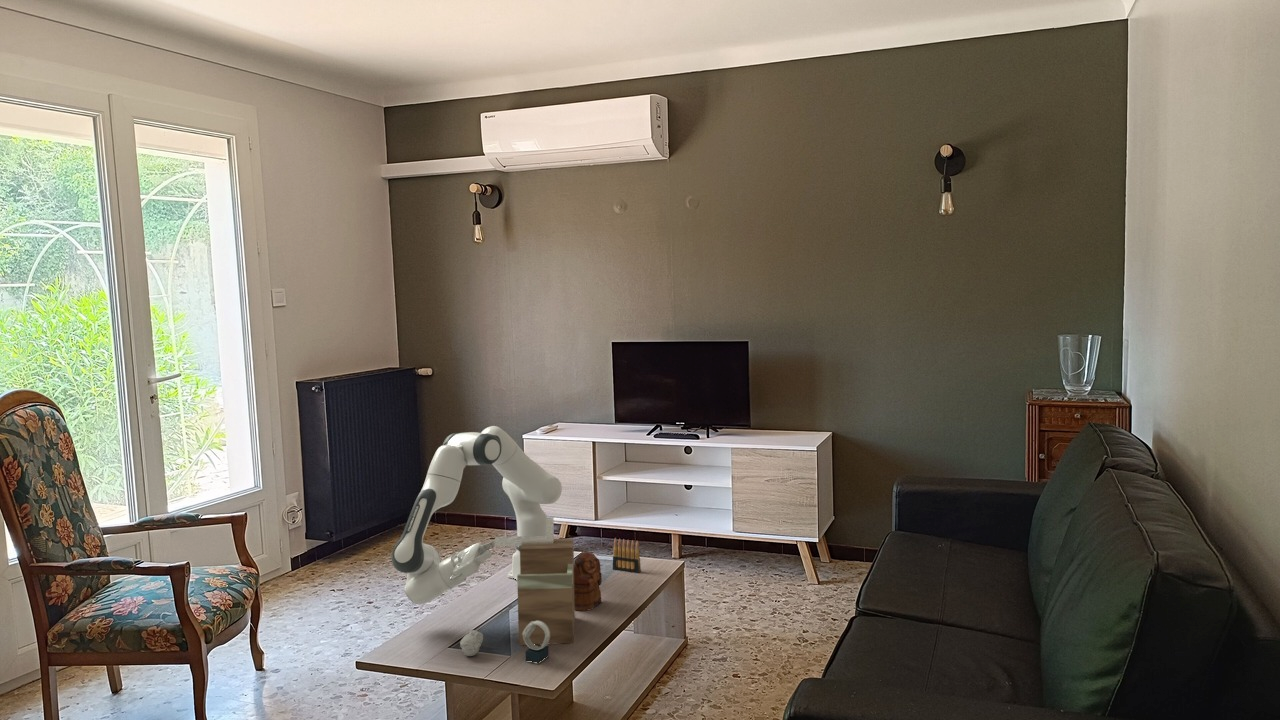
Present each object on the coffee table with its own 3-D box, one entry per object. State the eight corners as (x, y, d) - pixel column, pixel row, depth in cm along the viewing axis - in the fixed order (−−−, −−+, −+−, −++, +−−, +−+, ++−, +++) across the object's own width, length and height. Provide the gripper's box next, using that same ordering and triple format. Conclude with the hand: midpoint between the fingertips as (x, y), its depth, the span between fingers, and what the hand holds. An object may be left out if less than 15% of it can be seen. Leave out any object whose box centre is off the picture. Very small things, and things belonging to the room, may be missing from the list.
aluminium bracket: (495, 543, 274) (495, 518, 273) (553, 542, 275) (553, 516, 274) (494, 546, 271) (494, 520, 271) (553, 544, 272) (552, 519, 271)
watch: (530, 652, 255) (529, 616, 254) (554, 657, 252) (553, 620, 251) (519, 660, 250) (518, 623, 249) (543, 665, 247) (543, 627, 246)
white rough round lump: (487, 654, 254) (487, 631, 254) (467, 662, 250) (466, 638, 249) (476, 648, 259) (475, 625, 258) (455, 655, 254) (454, 632, 253)
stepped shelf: (524, 619, 281) (522, 539, 278) (574, 617, 281) (573, 538, 279) (518, 645, 261) (516, 559, 258) (573, 643, 261) (571, 558, 259)
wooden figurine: (585, 613, 285) (584, 559, 283) (569, 609, 288) (568, 556, 286) (605, 601, 295) (604, 549, 293) (590, 598, 298) (589, 546, 296)
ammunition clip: (612, 569, 327) (612, 538, 326) (614, 568, 329) (614, 536, 328) (638, 573, 323) (638, 541, 322) (640, 571, 325) (640, 539, 324)
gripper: (442, 573, 262) (482, 549, 262) (454, 551, 283) (491, 529, 283) (454, 591, 263) (493, 567, 263) (464, 568, 283) (501, 546, 283)
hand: (492, 547), depth 273 cm, fingers open, 8 cm apart
